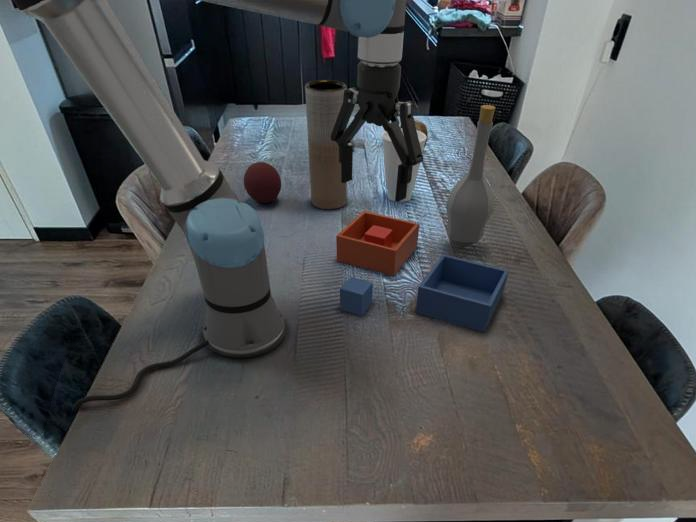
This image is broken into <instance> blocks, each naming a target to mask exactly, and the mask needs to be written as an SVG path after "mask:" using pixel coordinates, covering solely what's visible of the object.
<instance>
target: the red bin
mask: <svg viewBox="0 0 696 522" xmlns="http://www.w3.org/2000/svg"><path fill="white" fill-rule="evenodd" d="M373 225H375V226H380V227H384V228H388V229H392V230H393V234H392V248H390V247H386V246H382V245H378V244H374V243H370V242H366V241H364V235H365V233H366V232H367V231H368V230H369V229H370V228H371V227H372V226H373ZM419 233H420V223H418V222H414V221H409V220H405V219H402V218H401V219H400V218H398V217H397V218H395V217H392V216H388V215H383V214H379V213H376V212H371V211H366V210H363V211H362V212H361V213H360V214H359V215H358V216H357V217H355V218H354V219H353V220H352V221H351V222H350V223H349V224H347V226H345V227H344V228H343V229H342V230H341V231H340V232H339V233H338V234H337V235H336V236H335V239H336V240H335V241H336V242H335V243H336V244H335V245H336V261H337V262H341V263H343V264H348V265H352V266H355V267H359V268H363V269H367V270H371V271H374V272H378V273H382V274H386V275H390V276H393V277H394V276H395V275H396V274H397V273H398V271H399V270H401V268H402V267H403V266H404V264H405V263H406V262H407V260H408V259H410V257H411V256H412V254H413V253H414V252H415V251H416V250H417V248H418V243H419Z"/></svg>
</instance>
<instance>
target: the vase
mask: <svg viewBox="0 0 696 522" xmlns="http://www.w3.org/2000/svg"><path fill="white" fill-rule="evenodd" d="M346 89H348V88H347V84H346V83H345V82H342V81H339V80H335V79H334V80H333V79H332V80H331V79H317V80H312V81H309V82H307V83H305V85H304V92H305V94H304V95H305V110H306V129H307V131H306V132H307V148H308V149H307V150H308V165H309V185H310V186H309V187H310V200H311V201H310V202H311V204H312V205H313V206H314V207H315V208H318V209H321V210H337V209H341V208H343V207H345V206H346V205H347V200H348V199H347V198H348V190H347V189H348V188H347V187H348V182H346V183H342V182H341V163H340V162H339V146H338V144H337V143H336V142H335V141H332V140H331V138H330V136H331V133H332V131H333V128H334V125H335V122H336V120H337V117H338V114H339V112H340V109H341V106H342V104H343V95H344V90H346ZM347 128H348V126H347V127H346V129H347ZM346 129H345V130H346Z"/></svg>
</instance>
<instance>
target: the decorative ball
mask: <svg viewBox="0 0 696 522" xmlns="http://www.w3.org/2000/svg"><path fill="white" fill-rule="evenodd" d="M243 186H244V189H245V191H246V194H247V195H248V196H249V198H251V199H252V200H253V201H255V202H257V203H261V204H268V203H271V202H273V201H274V200H275V199H277V198H278V197H279V194H280V193H281V190H282V179H281V176H280V173H279V172H278V170H277V169H276V168H275V167H274V166H273V165H272V164H270V163H267V162H264V161H258V162H254V163H251V165H249V166H248V168H247V169H246V170H245V172H244V175H243Z"/></svg>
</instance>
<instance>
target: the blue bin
mask: <svg viewBox="0 0 696 522" xmlns="http://www.w3.org/2000/svg"><path fill="white" fill-rule="evenodd" d="M509 273H510V270H509V269H504V268H500V267H497V266H494V265H489V264H485V263H481V262H476V261H473V260H469V259H465V258H461V257H457V256H453V255H448V254H445V253H442V254H441V255H440V256H439V258H438V259H437V260H436V262H435V263H434V265H433V266H432V267H431V269H430V270H429V271H428V273H427V274H426V276H425V277H424V279H423V280H422V281H421V282H420V284H418V287H417V295H416V303H415V312H414V313H416V314H420V315H424V316H427V317H430V318H434V319H437V320H440V321H444V322H447V323H451V324H454V325H458V326H461V327H464V328H468V329H472V330H475V331H479V332H482V333H485V332H486V329H487V328H488V325H489V324H490V321H491V319H492V317H493V315H494V313H495V311H496V309H497V307H498V305H499V303H500V301H501V300H502V297H503V294H504V290H505V286H506V283H507V280H508V276H509Z"/></svg>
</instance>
